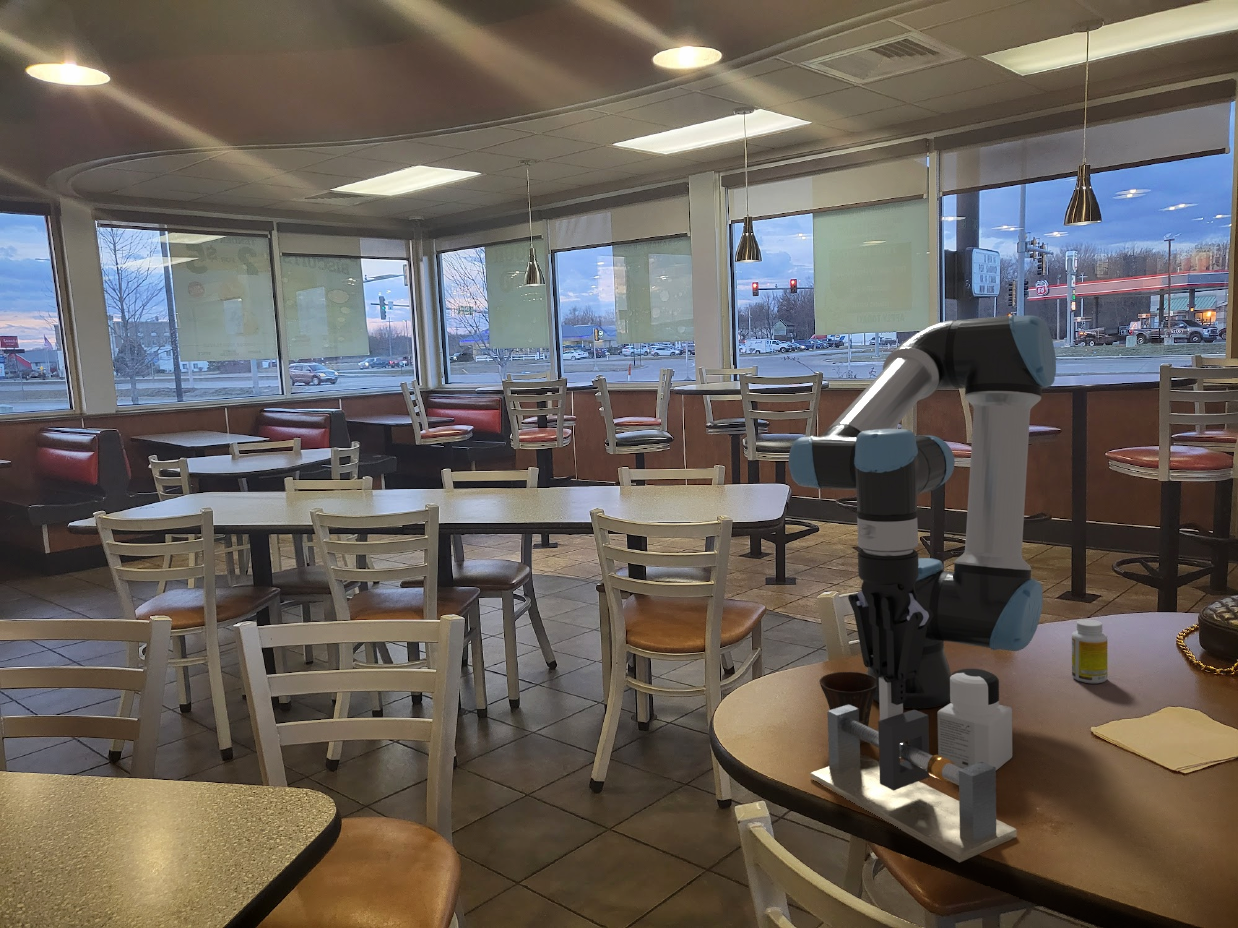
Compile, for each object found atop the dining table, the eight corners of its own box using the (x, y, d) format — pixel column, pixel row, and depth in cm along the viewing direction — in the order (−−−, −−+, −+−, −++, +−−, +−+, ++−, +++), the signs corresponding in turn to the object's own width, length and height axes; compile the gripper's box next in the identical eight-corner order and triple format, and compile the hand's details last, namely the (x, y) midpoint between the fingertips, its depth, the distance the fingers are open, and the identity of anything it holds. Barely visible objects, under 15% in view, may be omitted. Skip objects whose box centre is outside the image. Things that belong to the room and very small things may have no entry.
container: (961, 743, 138) (960, 660, 136) (1013, 757, 132) (1012, 671, 131) (937, 761, 133) (935, 675, 131) (990, 776, 127) (989, 686, 126)
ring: (879, 783, 120) (878, 721, 119) (915, 770, 123) (914, 709, 122) (893, 790, 118) (891, 727, 117) (929, 776, 121) (928, 715, 120)
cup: (813, 746, 138) (815, 680, 138) (822, 730, 147) (824, 668, 147) (874, 754, 135) (876, 686, 135) (879, 737, 144) (881, 674, 144)
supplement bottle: (1114, 682, 158) (1115, 624, 157) (1087, 686, 157) (1087, 628, 156) (1091, 671, 164) (1091, 616, 163) (1064, 675, 163) (1064, 620, 162)
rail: (810, 779, 129) (808, 714, 128) (863, 760, 134) (861, 698, 133) (959, 862, 107) (958, 784, 106) (1016, 836, 111) (1016, 762, 110)
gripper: (831, 545, 122) (836, 715, 125) (904, 562, 111) (907, 748, 113) (873, 537, 126) (877, 703, 128) (948, 552, 114) (950, 734, 117)
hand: (891, 724), depth 121 cm, fingers closed
